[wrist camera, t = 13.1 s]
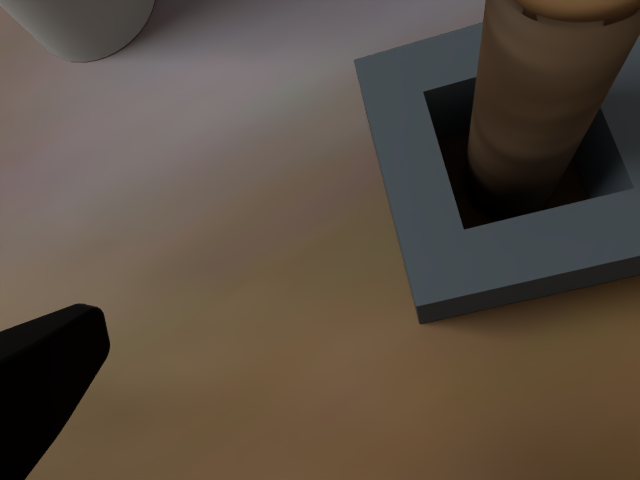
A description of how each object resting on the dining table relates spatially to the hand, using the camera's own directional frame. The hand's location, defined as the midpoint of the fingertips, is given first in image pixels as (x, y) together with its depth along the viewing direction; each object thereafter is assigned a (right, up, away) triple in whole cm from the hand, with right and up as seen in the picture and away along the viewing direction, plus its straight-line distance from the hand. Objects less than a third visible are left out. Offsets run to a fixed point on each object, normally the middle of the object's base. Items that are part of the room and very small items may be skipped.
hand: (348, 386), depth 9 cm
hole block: (+7, +5, +14) cm, 17 cm away
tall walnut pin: (+7, +5, +14) cm, 17 cm away
